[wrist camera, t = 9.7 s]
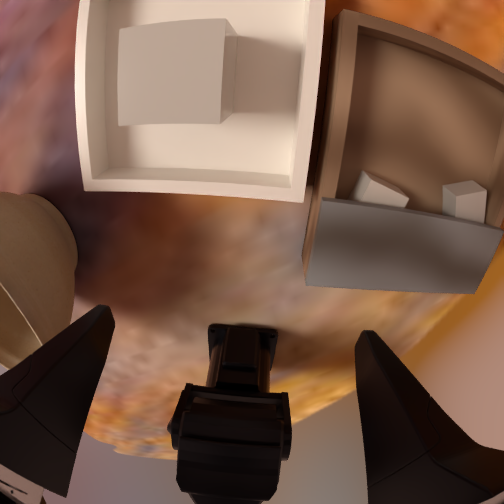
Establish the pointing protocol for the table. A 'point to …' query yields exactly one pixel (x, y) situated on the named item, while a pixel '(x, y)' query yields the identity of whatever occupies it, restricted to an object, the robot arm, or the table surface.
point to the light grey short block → (377, 191)
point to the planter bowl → (33, 275)
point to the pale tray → (205, 135)
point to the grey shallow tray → (404, 161)
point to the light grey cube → (177, 72)
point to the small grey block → (464, 201)
